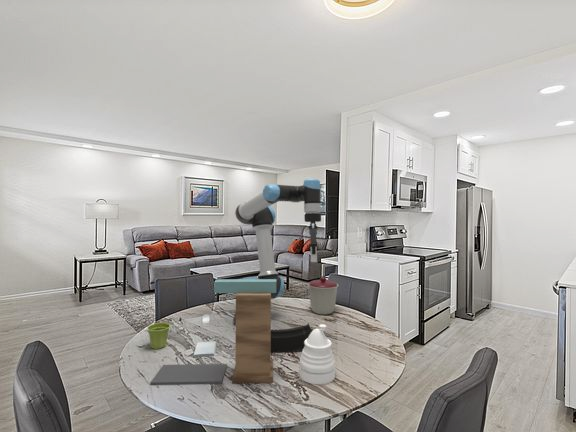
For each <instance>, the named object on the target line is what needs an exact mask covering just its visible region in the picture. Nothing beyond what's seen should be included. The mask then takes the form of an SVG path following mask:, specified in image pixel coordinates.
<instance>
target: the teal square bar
mask: <svg viewBox="0 0 576 432" xmlns="http://www.w3.org/2000/svg"><path fill="white" fill-rule="evenodd" d="M213 284H214V285H213V293H214V294H237V293H276V279H242V278H240V279H237V278H236V279H234V278H233V279H231V278H229V279H227V278H226V279H223V278H221V279H220V278H219V279H218V278H217V279H215V281H214V282H213Z"/></svg>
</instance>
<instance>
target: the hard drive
mask: <svg viewBox="0 0 576 432" xmlns="http://www.w3.org/2000/svg"><path fill="white" fill-rule="evenodd" d="M216 345H217V341H215V340H211V341H198V342H197V343H196V346H195V350H194V352H193V355H192V357H193V358H204V357H214V356H215V353H216V347H217V346H216Z"/></svg>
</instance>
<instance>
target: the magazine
mask: <svg viewBox="0 0 576 432" xmlns="http://www.w3.org/2000/svg"><path fill="white" fill-rule="evenodd" d="M310 325H311V324H310V323H307V324H305V325H300V326H297V327H293V328H292V327H291V328H283V329H280V328H279V329H271V354H279V353H280V354H283V353H284V354H285V353H291V352H297V351H303V349H304V346H305V344H304V341H305V340H306V339H307V338H308V337H309V335H310V334H311V332H312V331H313V330H314V329H315V328H314V327H313V326H310Z"/></svg>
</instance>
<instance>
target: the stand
mask: <svg viewBox="0 0 576 432" xmlns="http://www.w3.org/2000/svg"><path fill="white" fill-rule="evenodd" d="M235 312H236V325H235V351H234V352H235V353H234V354H235V366H234V369H233V374H232V376H231V384H268V383H269V384H273V383H274V360H273V359H272V358H271V354H272V353H271V330H272V329H271V328H272V327H271V326H272V325H271V324H272V299H271V293H235Z"/></svg>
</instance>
